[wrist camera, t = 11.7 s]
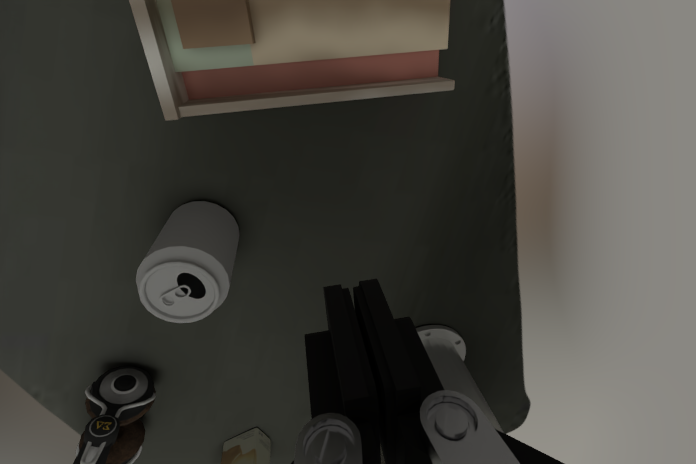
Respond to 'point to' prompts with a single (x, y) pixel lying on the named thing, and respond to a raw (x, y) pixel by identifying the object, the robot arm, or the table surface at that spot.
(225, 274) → the can
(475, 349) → the table surface
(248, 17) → the walnut block
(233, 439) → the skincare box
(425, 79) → the trap box
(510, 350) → the table surface
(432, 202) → the table surface
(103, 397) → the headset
